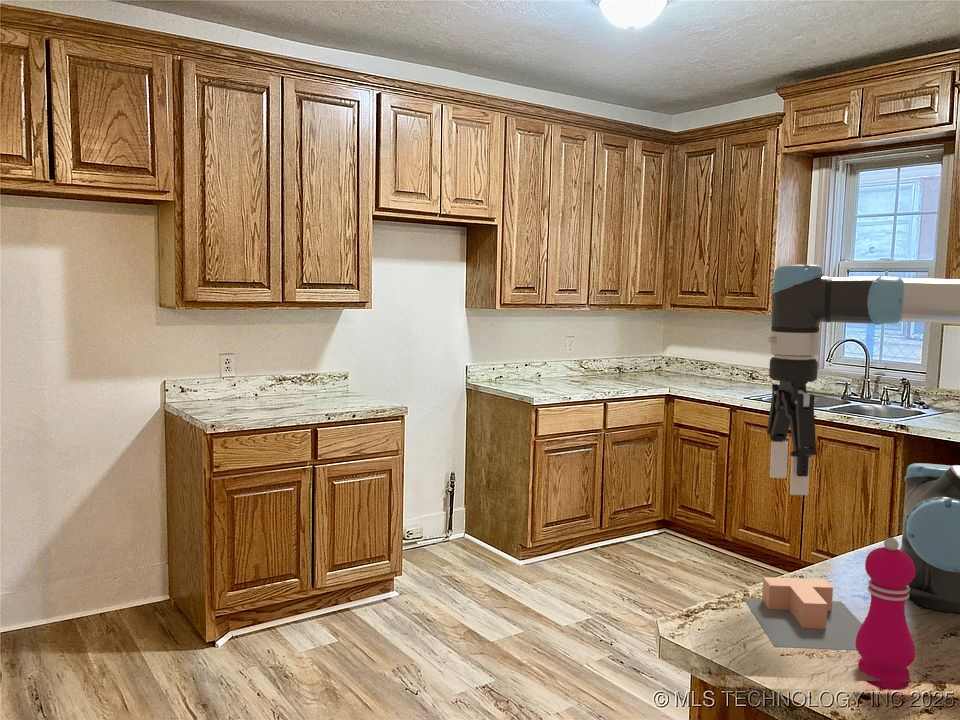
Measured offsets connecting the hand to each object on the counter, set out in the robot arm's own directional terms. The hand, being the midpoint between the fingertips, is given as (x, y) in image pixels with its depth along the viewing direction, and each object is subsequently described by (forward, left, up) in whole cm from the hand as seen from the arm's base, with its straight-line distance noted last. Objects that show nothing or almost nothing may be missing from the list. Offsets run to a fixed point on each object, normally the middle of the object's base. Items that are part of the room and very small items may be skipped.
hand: (788, 485), depth 129 cm
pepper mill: (-5, +27, -20) cm, 34 cm away
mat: (0, +13, -20) cm, 24 cm away
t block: (0, +10, -18) cm, 21 cm away
